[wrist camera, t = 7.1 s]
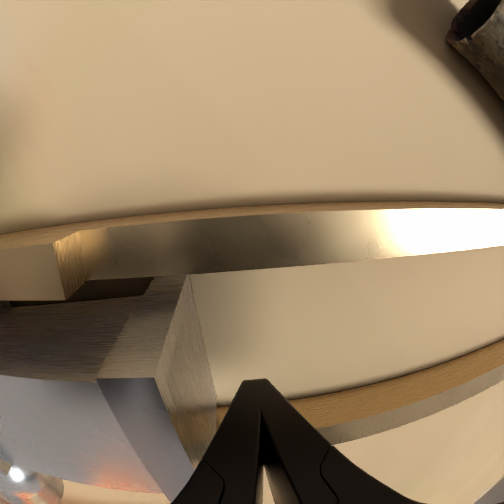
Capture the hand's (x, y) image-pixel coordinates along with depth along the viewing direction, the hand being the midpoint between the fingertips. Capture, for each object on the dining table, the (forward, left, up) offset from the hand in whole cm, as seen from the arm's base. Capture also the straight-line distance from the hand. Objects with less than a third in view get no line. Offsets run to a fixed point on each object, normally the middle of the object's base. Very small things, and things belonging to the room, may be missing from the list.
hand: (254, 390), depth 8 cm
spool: (0, +7, -3) cm, 7 cm away
